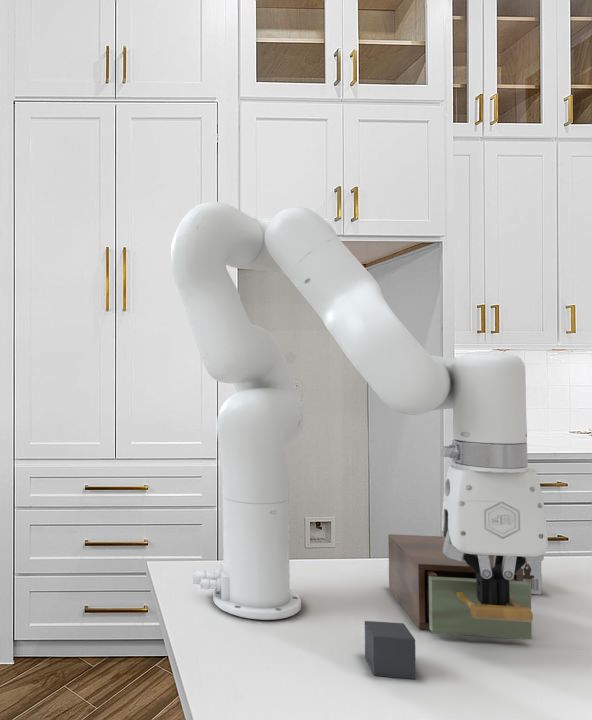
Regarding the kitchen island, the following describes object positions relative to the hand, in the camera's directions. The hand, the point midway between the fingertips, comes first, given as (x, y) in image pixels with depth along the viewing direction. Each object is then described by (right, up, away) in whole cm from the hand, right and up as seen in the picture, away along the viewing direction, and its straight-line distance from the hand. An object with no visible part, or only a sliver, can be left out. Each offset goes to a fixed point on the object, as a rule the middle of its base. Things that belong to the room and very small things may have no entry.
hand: (493, 608), depth 72 cm
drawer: (+1, -5, +7) cm, 8 cm away
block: (-14, -6, -3) cm, 15 cm away
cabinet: (+2, -6, +13) cm, 15 cm away
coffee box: (+17, -6, +24) cm, 30 cm away
